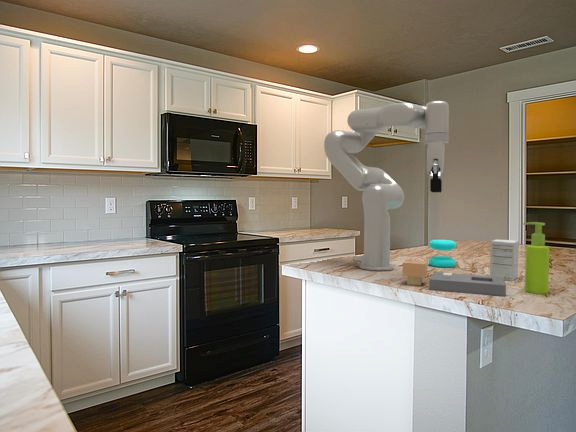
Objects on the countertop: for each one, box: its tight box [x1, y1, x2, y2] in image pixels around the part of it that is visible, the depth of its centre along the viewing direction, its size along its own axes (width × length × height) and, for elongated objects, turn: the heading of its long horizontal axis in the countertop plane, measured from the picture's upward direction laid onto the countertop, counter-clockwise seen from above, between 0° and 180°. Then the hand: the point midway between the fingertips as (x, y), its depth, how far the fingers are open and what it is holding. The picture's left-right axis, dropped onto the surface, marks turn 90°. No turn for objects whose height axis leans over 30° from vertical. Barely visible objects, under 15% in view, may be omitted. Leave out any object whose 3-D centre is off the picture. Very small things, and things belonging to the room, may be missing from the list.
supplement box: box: [489, 238, 520, 282], centre depth 149 cm, size 7×7×13 cm
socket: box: [428, 271, 507, 297], centre depth 131 cm, size 20×14×4 cm
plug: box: [401, 259, 428, 286], centre depth 137 cm, size 7×7×7 cm
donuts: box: [428, 239, 457, 268], centre depth 174 cm, size 10×10×10 cm
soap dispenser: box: [522, 221, 551, 295], centre depth 128 cm, size 6×7×20 cm
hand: (436, 191), depth 146 cm, fingers open, 9 cm apart
